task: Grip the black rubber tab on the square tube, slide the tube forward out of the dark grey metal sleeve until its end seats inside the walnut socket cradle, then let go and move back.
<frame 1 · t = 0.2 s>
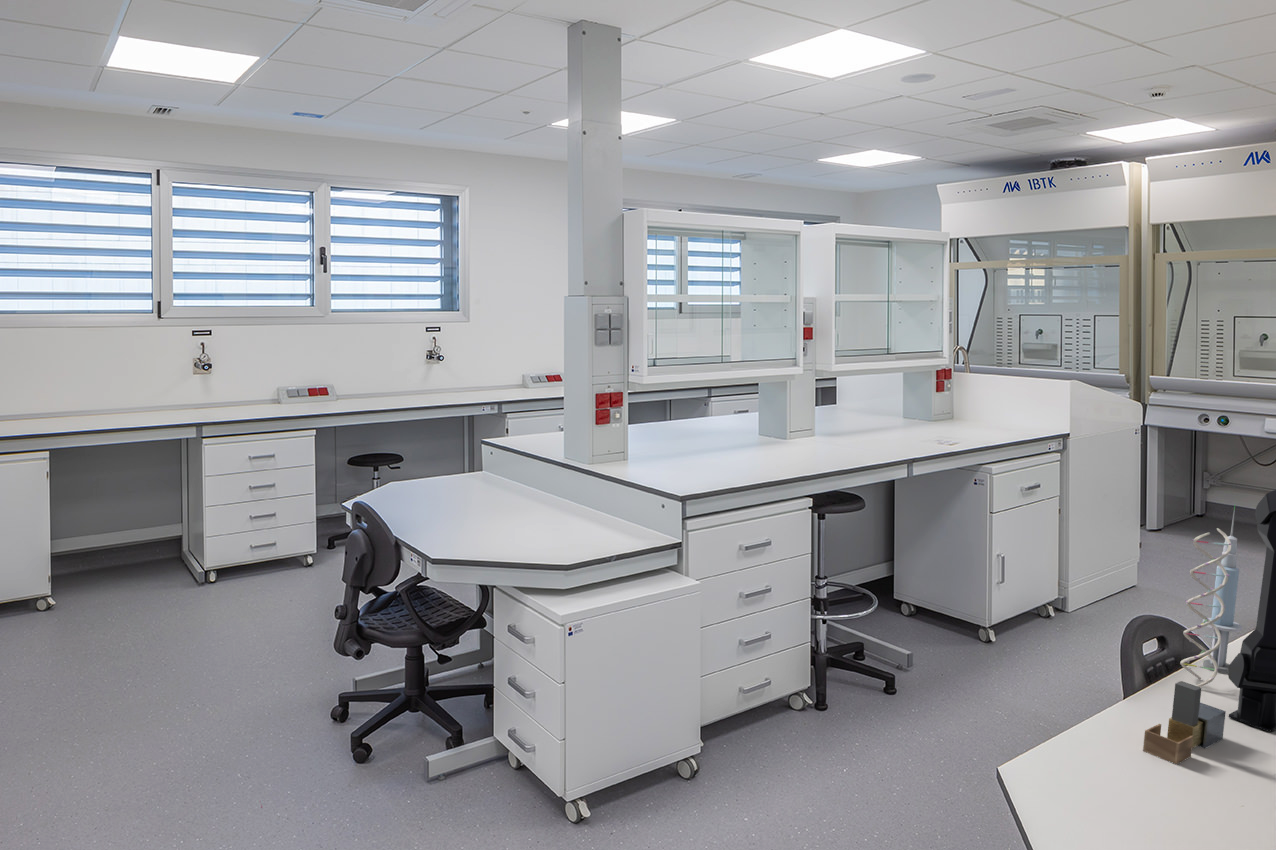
syringe: (1217, 669, 171), on the lab bench
socket: (1166, 753, 136), on the lab bench
sleeve: (1197, 737, 141), on the lab bench
slip tube: (1195, 709, 140), point 5 cm above the lab bench, slide at 0.0 cm
dna model: (1196, 684, 163), on the lab bench
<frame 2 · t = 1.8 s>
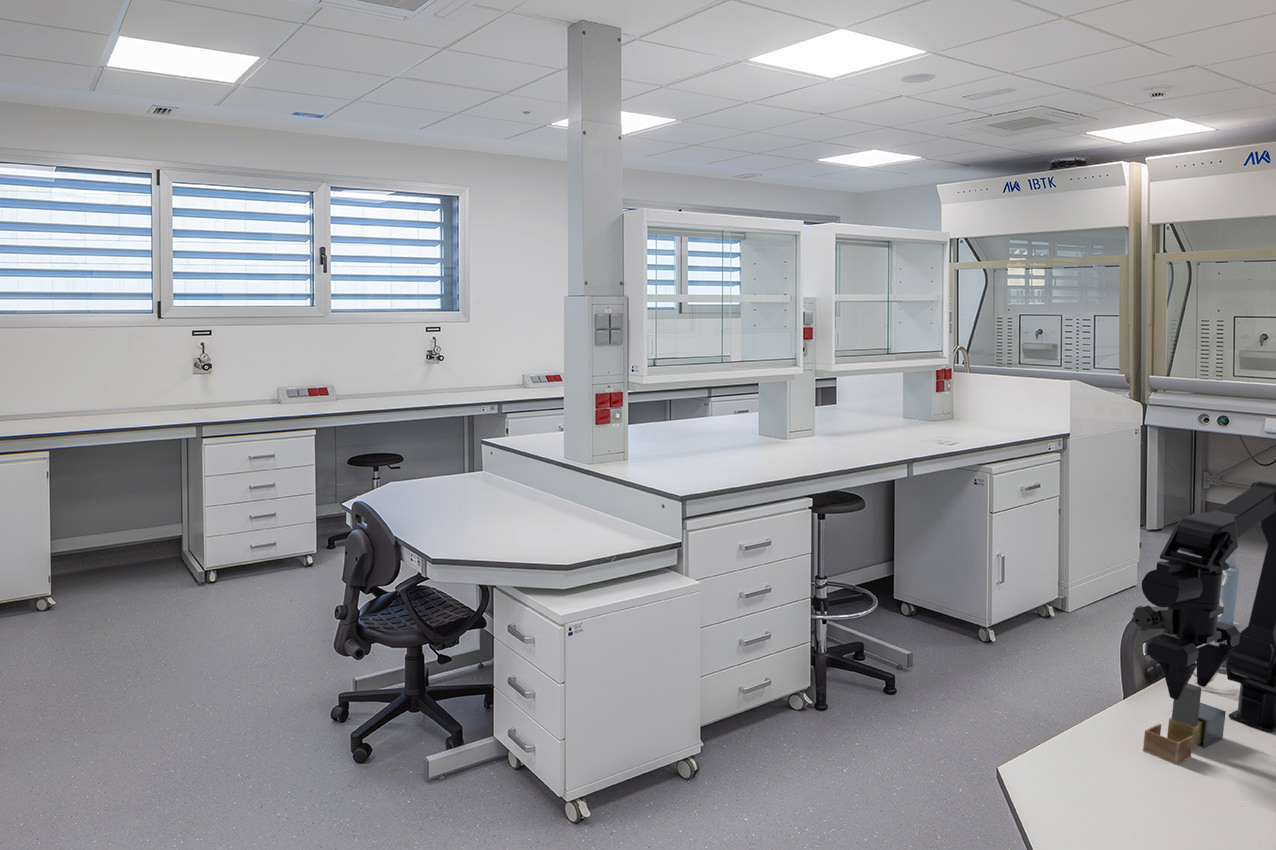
hand: (1188, 692, 138), 9 cm above the lab bench, tool pointing down, fingers open, 9 cm apart
nothing on the lab bench moved.
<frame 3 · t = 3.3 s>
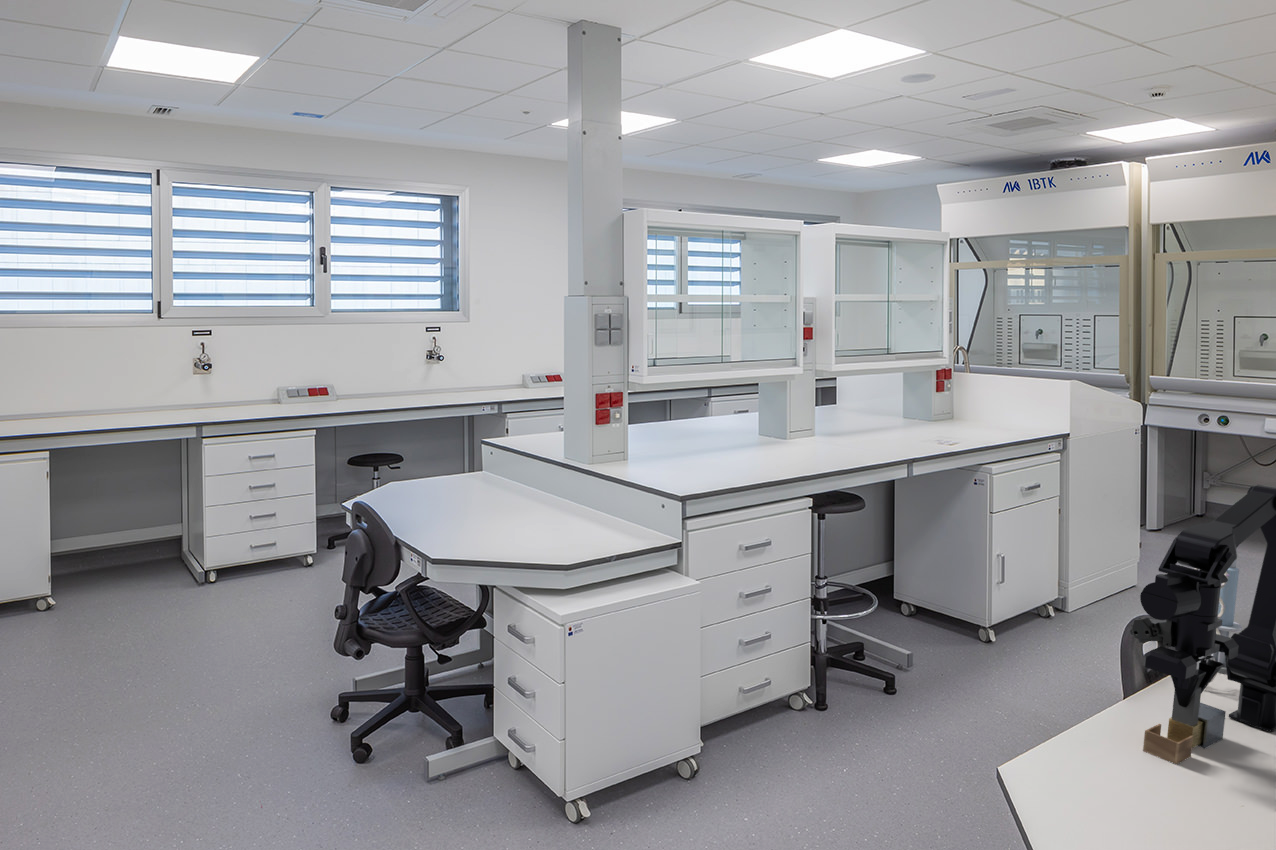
hand: (1186, 704, 138), 7 cm above the lab bench, tool pointing down, fingers closed on slip tube, 2 cm apart
slip tube: (1195, 709, 140), point 5 cm above the lab bench, slide at 0.0 cm, touching gripper
everything else where it was.
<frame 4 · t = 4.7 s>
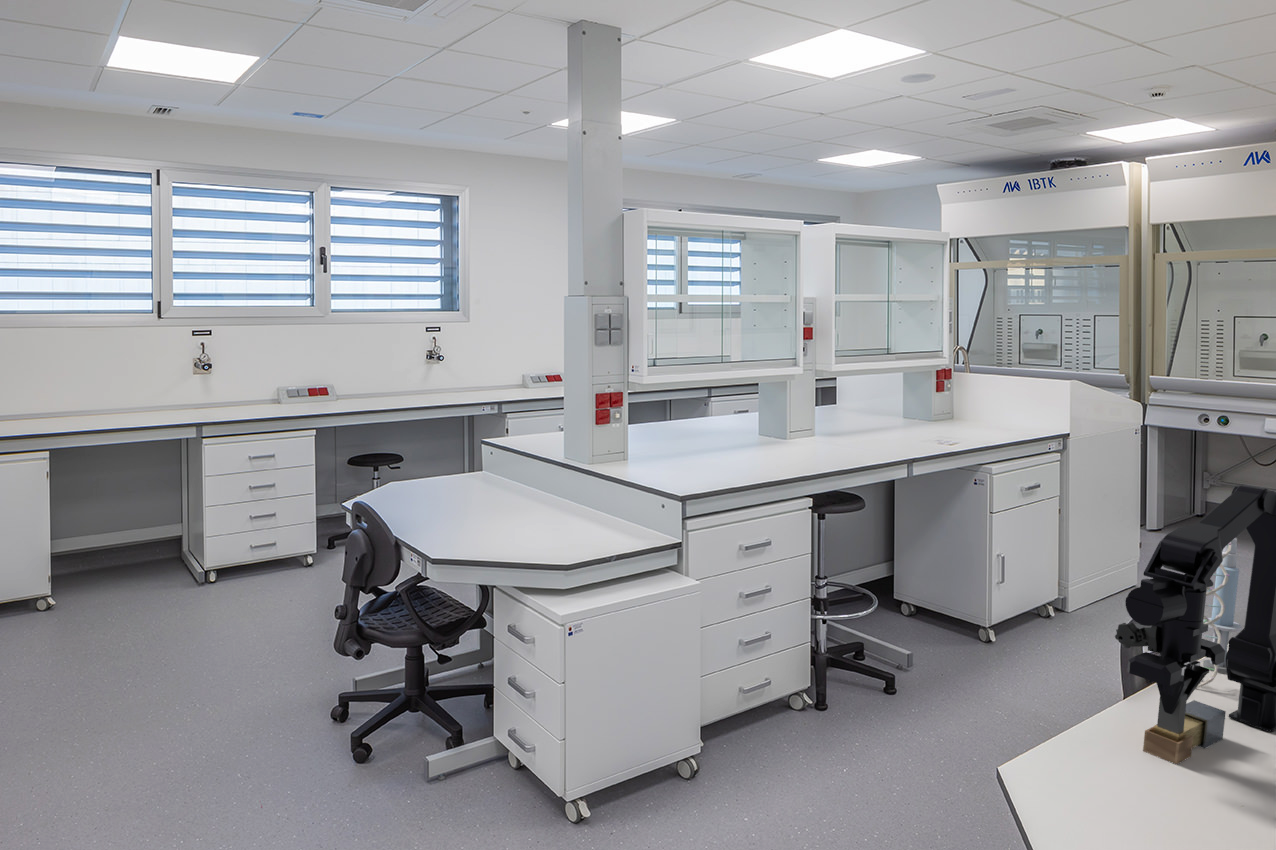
hand: (1172, 711, 135), 7 cm above the lab bench, tool pointing down, fingers closed on slip tube, 2 cm apart
slip tube: (1181, 716, 137), point 5 cm above the lab bench, slide at 4.7 cm, touching gripper
everything else where it was.
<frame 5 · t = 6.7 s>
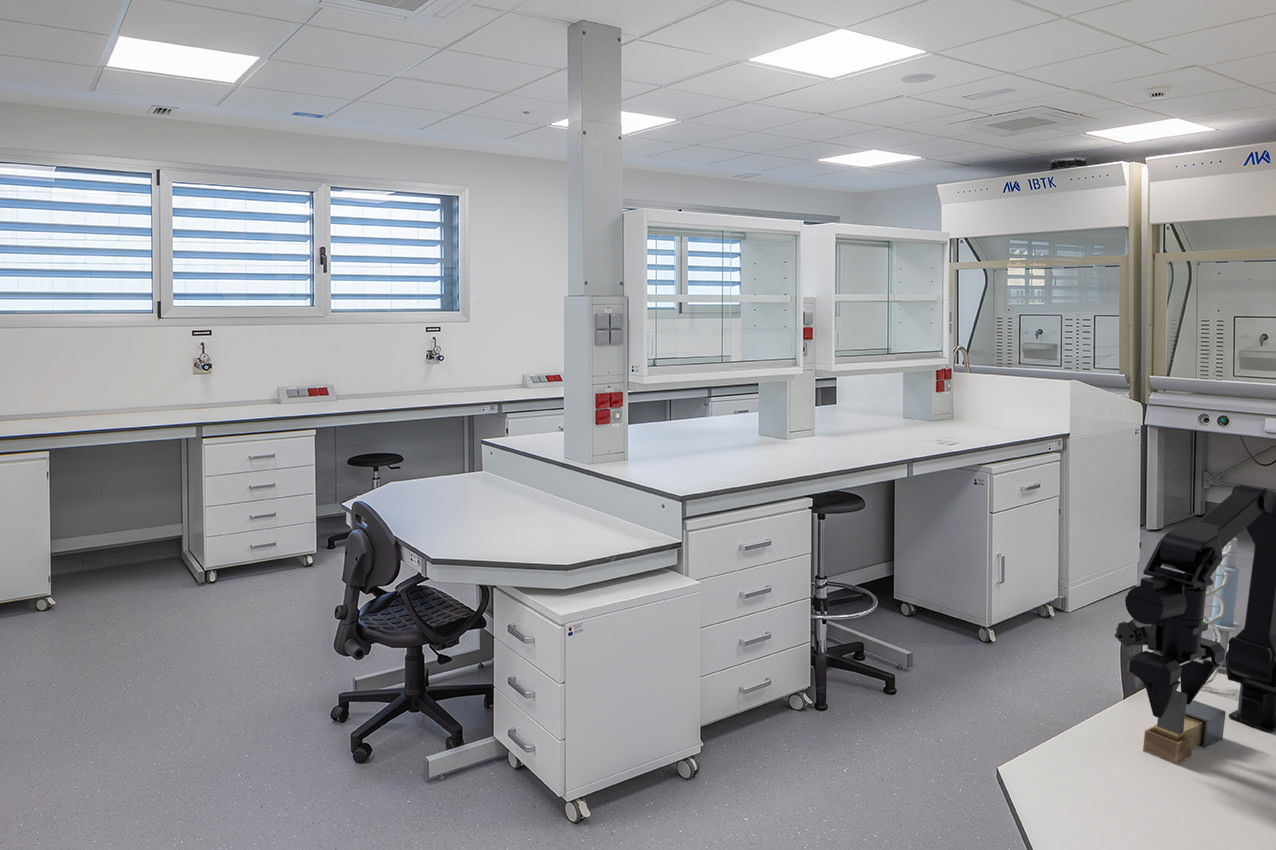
hand: (1171, 710, 135), 7 cm above the lab bench, tool pointing down, fingers open, 9 cm apart
slip tube: (1181, 716, 137), point 5 cm above the lab bench, slide at 4.7 cm
everything else where it was.
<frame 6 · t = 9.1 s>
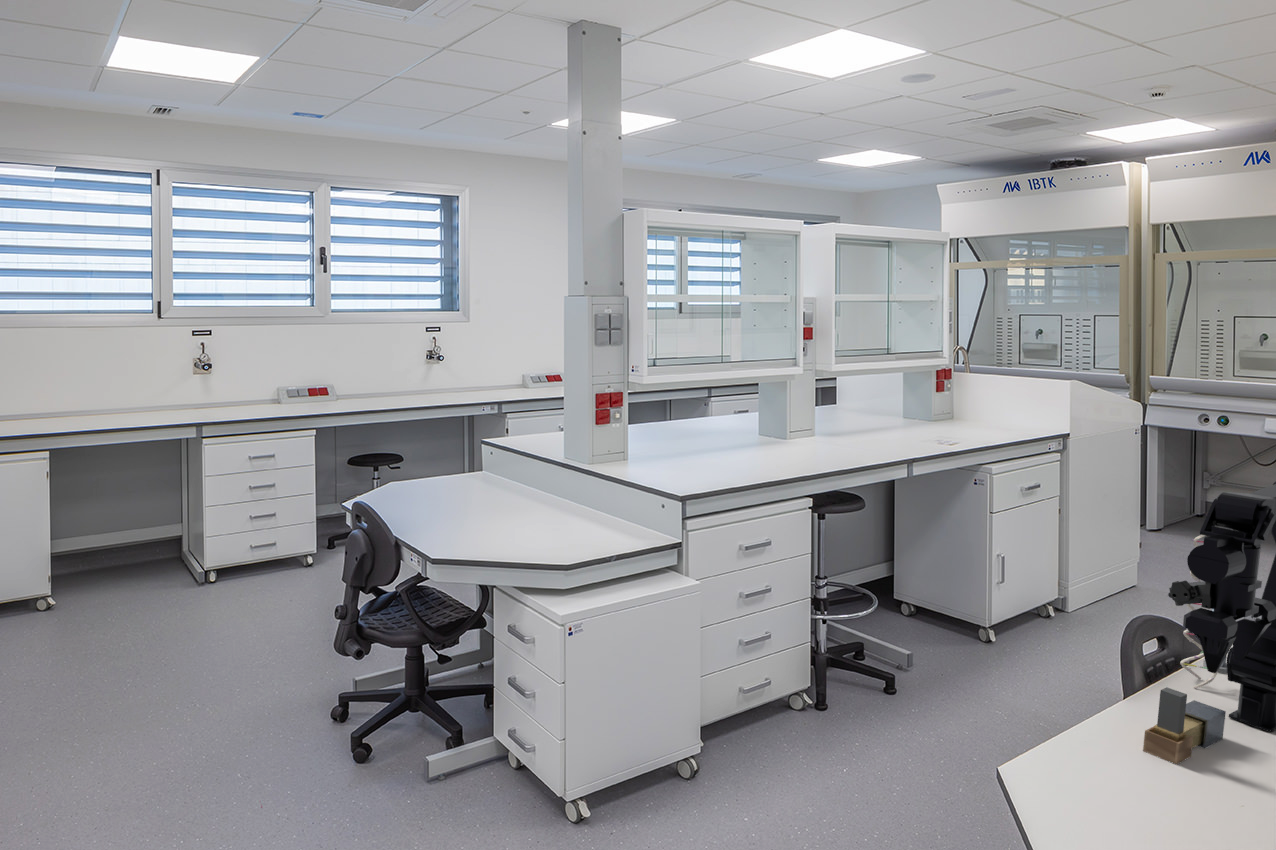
hand: (1225, 666, 138), 13 cm above the lab bench, tool pointing down, fingers open, 9 cm apart
nothing on the lab bench moved.
at the end: slip tube slide at 4.7 cm; the gripper is holding nothing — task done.
